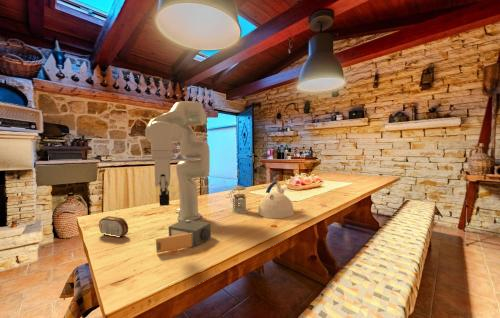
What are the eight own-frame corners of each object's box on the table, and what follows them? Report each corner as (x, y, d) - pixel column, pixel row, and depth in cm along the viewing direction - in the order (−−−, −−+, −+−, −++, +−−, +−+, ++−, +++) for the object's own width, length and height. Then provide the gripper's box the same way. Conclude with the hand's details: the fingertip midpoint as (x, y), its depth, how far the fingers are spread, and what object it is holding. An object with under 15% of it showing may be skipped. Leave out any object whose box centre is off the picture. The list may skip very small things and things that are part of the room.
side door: (156, 253, 75) (155, 240, 75) (156, 252, 76) (156, 238, 76) (193, 246, 79) (193, 233, 79) (193, 245, 81) (192, 232, 81)
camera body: (168, 241, 86) (167, 225, 86) (185, 232, 95) (184, 217, 95) (198, 247, 80) (197, 230, 80) (213, 237, 89) (212, 221, 89)
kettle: (299, 210, 124) (298, 180, 123) (285, 221, 106) (284, 185, 105) (268, 206, 134) (267, 178, 134) (251, 215, 117) (250, 183, 116)
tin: (129, 236, 93) (128, 217, 93) (123, 239, 90) (121, 220, 90) (104, 233, 98) (103, 215, 97) (98, 235, 95) (96, 217, 95)
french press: (241, 214, 119) (240, 170, 117) (225, 212, 125) (224, 170, 124) (251, 210, 127) (249, 168, 126) (235, 207, 133) (234, 168, 132)
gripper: (153, 155, 85) (155, 199, 86) (149, 156, 69) (151, 210, 70) (172, 154, 88) (174, 197, 89) (173, 155, 72) (175, 207, 73)
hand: (164, 202), depth 79 cm, fingers open, 5 cm apart
